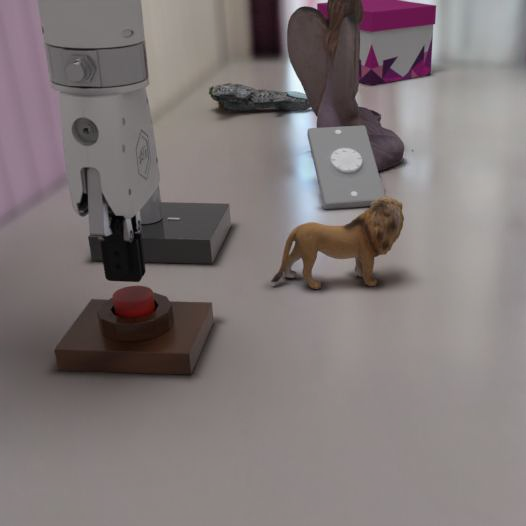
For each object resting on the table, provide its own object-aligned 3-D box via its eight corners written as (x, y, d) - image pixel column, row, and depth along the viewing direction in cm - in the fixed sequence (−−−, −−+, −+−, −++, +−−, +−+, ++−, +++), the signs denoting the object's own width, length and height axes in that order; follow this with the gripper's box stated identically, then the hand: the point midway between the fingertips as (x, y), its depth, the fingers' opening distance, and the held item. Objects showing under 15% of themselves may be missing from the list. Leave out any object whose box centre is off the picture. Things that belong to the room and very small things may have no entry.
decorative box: (378, 63, 198) (380, -3, 191) (432, 75, 186) (436, 5, 178) (318, 72, 188) (317, 3, 180) (370, 85, 175) (372, 12, 168)
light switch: (325, 199, 106) (307, 122, 113) (322, 228, 111) (305, 153, 118) (387, 195, 107) (366, 119, 115) (381, 224, 112) (361, 150, 120)
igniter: (58, 370, 71) (49, 331, 69) (94, 318, 80) (88, 282, 78) (191, 374, 71) (187, 335, 69) (213, 322, 79) (210, 285, 77)
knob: (160, 224, 94) (154, 180, 91) (125, 224, 94) (119, 180, 91) (164, 212, 97) (159, 169, 95) (131, 212, 97) (125, 170, 94)
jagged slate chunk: (314, 115, 147) (316, 84, 146) (205, 108, 145) (205, 77, 144) (310, 118, 163) (312, 91, 162) (212, 113, 161) (212, 85, 160)
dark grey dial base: (91, 261, 92) (87, 235, 90) (122, 223, 102) (119, 199, 101) (212, 264, 91) (209, 238, 90) (231, 226, 102) (229, 202, 100)
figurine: (419, 169, 123) (428, -8, 110) (331, 181, 118) (329, -3, 105) (369, 140, 137) (372, -20, 124) (288, 150, 132) (283, -16, 119)
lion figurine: (394, 264, 92) (396, 188, 87) (408, 283, 87) (412, 204, 83) (267, 277, 88) (263, 199, 84) (275, 297, 84) (272, 216, 80)
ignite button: (109, 319, 72) (107, 302, 71) (121, 301, 75) (119, 284, 74) (149, 320, 72) (146, 303, 71) (159, 302, 75) (157, 285, 74)
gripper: (117, 88, 56) (144, 318, 65) (169, 50, 69) (186, 246, 78) (11, 84, 56) (54, 314, 66) (83, 47, 69) (110, 243, 78)
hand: (126, 277), depth 72 cm, fingers closed
